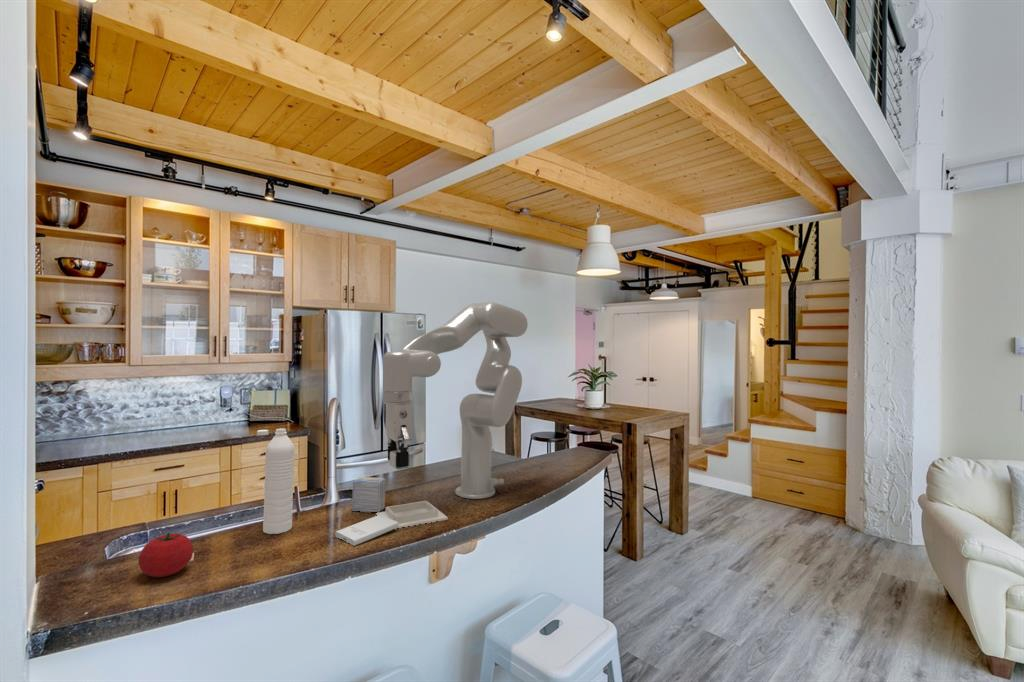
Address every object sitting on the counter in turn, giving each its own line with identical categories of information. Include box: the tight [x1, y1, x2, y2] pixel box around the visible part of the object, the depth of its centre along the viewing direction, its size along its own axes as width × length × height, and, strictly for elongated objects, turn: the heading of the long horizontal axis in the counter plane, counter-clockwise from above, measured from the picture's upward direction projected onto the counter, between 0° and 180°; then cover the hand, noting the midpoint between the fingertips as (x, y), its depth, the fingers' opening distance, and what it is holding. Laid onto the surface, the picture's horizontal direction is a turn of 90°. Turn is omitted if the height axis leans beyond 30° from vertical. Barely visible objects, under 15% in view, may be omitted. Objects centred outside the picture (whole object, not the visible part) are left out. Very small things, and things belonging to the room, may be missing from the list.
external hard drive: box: [334, 515, 398, 547], centre depth 114 cm, size 2×8×12 cm
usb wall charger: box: [389, 450, 411, 470], centre depth 126 cm, size 4×7×4 cm, turn 34°
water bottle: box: [256, 427, 296, 535], centre depth 115 cm, size 9×6×25 cm
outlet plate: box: [375, 500, 449, 530], centre depth 126 cm, size 16×12×2 cm
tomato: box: [137, 532, 194, 578], centre depth 93 cm, size 9×9×8 cm
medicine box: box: [351, 476, 386, 513], centre depth 131 cm, size 8×4×9 cm, turn 84°
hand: (397, 462), depth 126 cm, fingers closed on usb wall charger, 7 cm apart
